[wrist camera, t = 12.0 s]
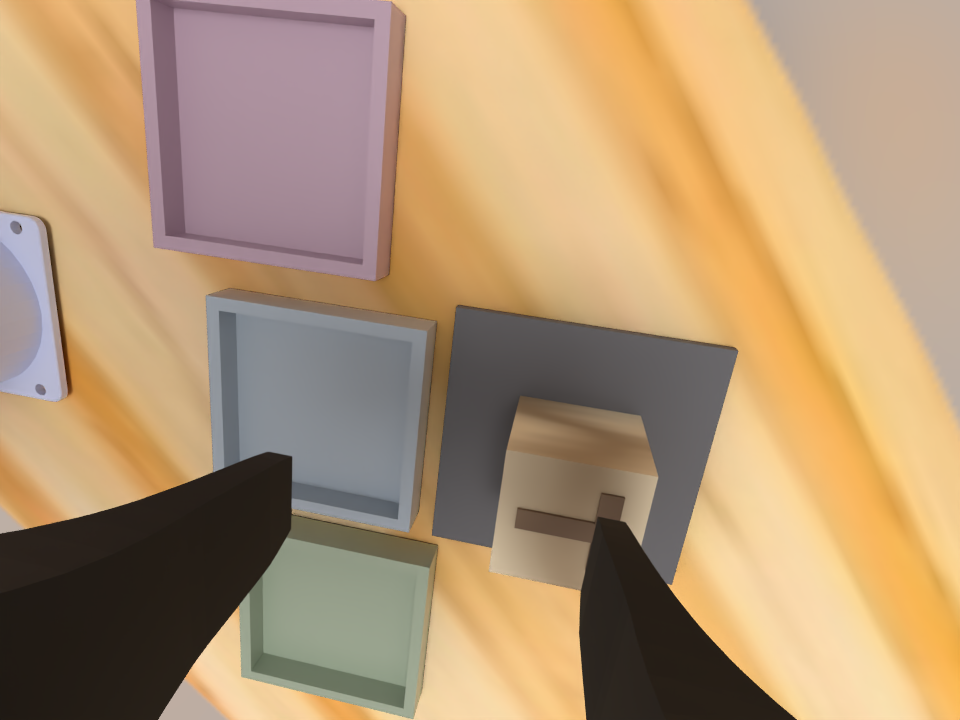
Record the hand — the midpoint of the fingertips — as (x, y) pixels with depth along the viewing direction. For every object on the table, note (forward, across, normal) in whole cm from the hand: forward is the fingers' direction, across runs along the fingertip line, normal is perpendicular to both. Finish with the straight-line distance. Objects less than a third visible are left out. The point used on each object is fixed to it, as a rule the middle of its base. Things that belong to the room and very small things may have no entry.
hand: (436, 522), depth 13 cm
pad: (+9, -3, +2) cm, 10 cm away
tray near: (+9, +9, -8) cm, 15 cm away
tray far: (+9, +6, +12) cm, 16 cm away
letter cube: (+9, -4, +2) cm, 10 cm away
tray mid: (+9, +7, +2) cm, 12 cm away
